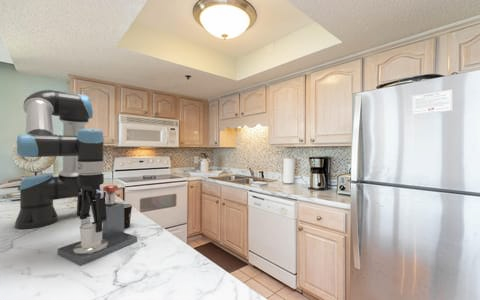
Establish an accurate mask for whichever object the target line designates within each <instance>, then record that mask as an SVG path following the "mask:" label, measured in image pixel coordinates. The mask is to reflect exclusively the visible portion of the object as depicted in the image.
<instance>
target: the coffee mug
mask: <svg viewBox="0 0 480 300" xmlns="http://www.w3.org/2000/svg"><path fill="white" fill-rule="evenodd" d="M123 204H124V230H126V229H128V228H130V227H131V226H130V225H131V217H132V210H133V204H132V203H123Z"/></svg>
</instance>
